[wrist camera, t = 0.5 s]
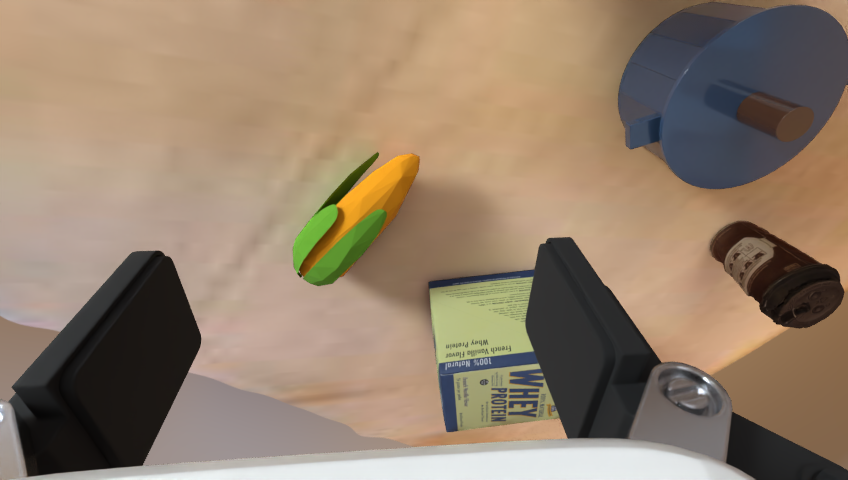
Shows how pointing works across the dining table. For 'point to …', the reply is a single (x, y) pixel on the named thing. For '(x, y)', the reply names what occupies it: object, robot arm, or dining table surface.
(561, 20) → the dining table surface
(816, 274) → the coffee cup
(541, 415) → the protein box
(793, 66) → the pot lid
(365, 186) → the corn
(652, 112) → the pot
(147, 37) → the dining table surface
